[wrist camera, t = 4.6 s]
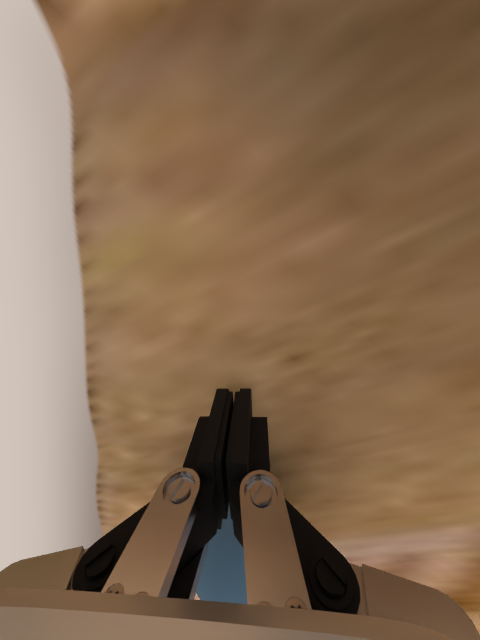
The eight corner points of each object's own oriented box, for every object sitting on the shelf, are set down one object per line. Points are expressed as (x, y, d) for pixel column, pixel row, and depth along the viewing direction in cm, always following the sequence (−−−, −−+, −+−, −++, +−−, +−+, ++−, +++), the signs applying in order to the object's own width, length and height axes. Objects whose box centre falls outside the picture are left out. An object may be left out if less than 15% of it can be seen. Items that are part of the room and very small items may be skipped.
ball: (175, 639, 11) (204, 502, 17) (301, 657, 11) (287, 509, 16) (156, 573, 9) (196, 442, 14) (313, 591, 8) (292, 448, 14)
